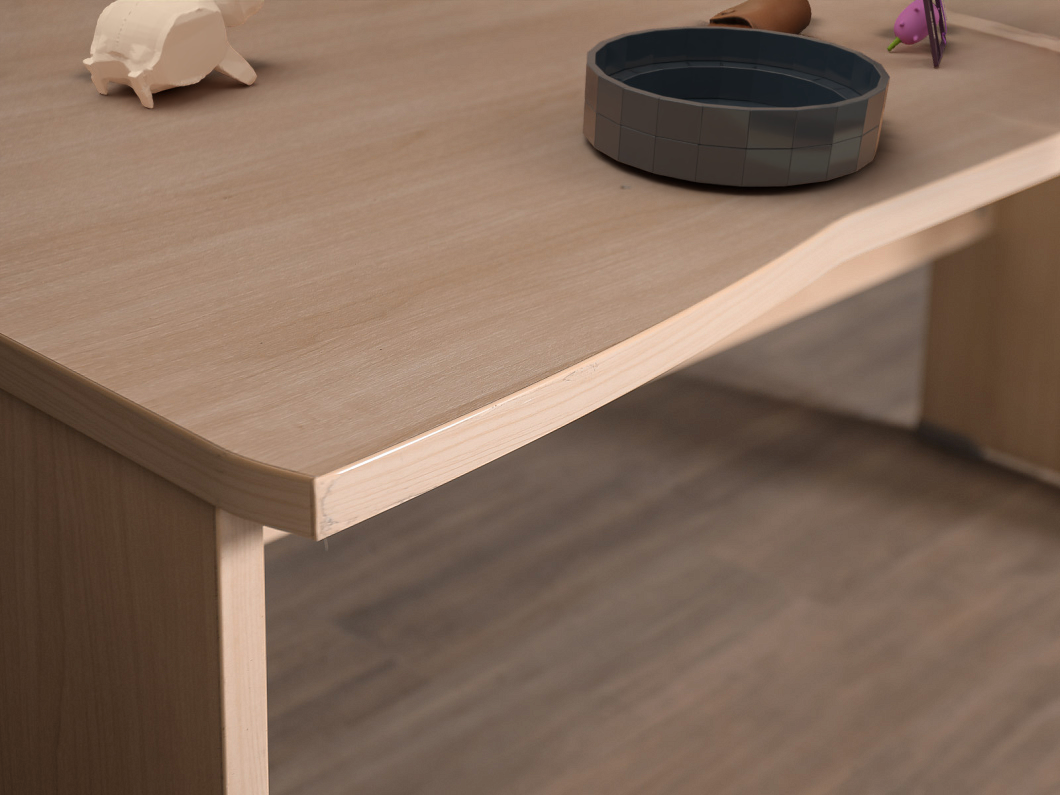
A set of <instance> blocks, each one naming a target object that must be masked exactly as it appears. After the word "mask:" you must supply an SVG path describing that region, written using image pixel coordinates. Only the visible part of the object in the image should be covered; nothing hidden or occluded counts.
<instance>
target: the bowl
mask: <svg viewBox="0 0 1060 795" xmlns="http://www.w3.org/2000/svg"><path fill="white" fill-rule="evenodd" d="M585 66H586V67H585V82H584V83H585V86H584V105H583V122H582V134H583V136H584V137H585V138H586V140H588V142H589V143H590V144H591V145H592V147H593V148H594V149H595V150H597V151H599V152H601V153H603V154H604V155H606V156H608V157H609V158H611V159H613V160H615V161H616V162H619V163H622V164H625V165H627V166H631V167H634V168H637V169H639V170H642V171H646V172H648V173H653V174H655V175H659V176H665V177H668V178H671V179H672V178H673V179H676V180H681V181H685V182H691V183H698V184H704V185H712V186H722V187H737V188H738V187H740V188H770V187H789V186H796V185H797V186H798V185H804V184H814V183H821V182H827V181H830V180H834V179H837V178H841V177H845V176H847V175H850V174H853V173H857V172H859V171H860V170H861V169H862V168H864V167H865V166H867V165H868V164H870V163H872V162H873V161H874V159H875V156H876V153H877V150H878V147H879V142H880V136H881V131H882V125H883V119H884V112H885V109H886V101H887V96H888V91H889V85H890V81H891V80H890V79H891V76H890V74H889V73H888V72H887V70H886V69H885V67H884V66H883V64H881V63H880V62H878V61H876V60H875V59H873V58H871V57H870V56H869V55H866V54H864V53H863V52H861V51H858V50H855V49H852V48H849V47H847V46H844V45H841V44H838V43H836V42H832V41H827V40H823V39H819V38H815V37H810V36H806V35H802V34H799V35H796V34H789V33H783V32H776V31H769V30H762V29H749V28H736V27H718V26H708V25H706V26H705V25H704V26H703V25H699V26H698V25H696V26H694V25H693V26H692V25H689V26H687V25H686V26H684V25H683V26H671V27H658V28H648V29H641V30H637V31H631V32H626V33H625V32H624V33H620V34H618V35H616V36H613V37H609V38H607V39H605V40H601V41H599V42H598V43H596V44H595V45H594V46H593V47H591V48H590V49H589V50H588V51H587V52H586V64H585Z"/></svg>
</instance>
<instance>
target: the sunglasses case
mask: <svg viewBox="0 0 1060 795" xmlns="http://www.w3.org/2000/svg"><path fill="white" fill-rule="evenodd" d="M812 15H813V14H812V7H811V4H810V2H809V0H746V1H743V2H741V3H739V4H737V5H735V6H731V7H729V8H726V9H723V10H722V11H720V12H718V13H717V14H715V15H714V16H712V17H711V18H709V23H708V25H707V26H718V27H736V28H749V29H762V30H769V31H776V32H783V33H789V34H796V35H801V33H802V32H803V31H804V30H806V29H807V28H808V27H809V26H810V24H811V20H812Z"/></svg>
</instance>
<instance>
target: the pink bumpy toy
mask: <svg viewBox="0 0 1060 795" xmlns="http://www.w3.org/2000/svg"><path fill="white" fill-rule="evenodd" d="M946 10H947V9H946V3H945V0H934V1H933V0H914V1H912V2H911V3H910V4H908V5H907V6H906V7H905V8H903V9H902V11H901V12H900V13H899V14H898V16H897V17H896V19H895V21H894V24H893V34H894V36H895V39H894V40H893V41H892V42H890V43H889V45H888V46H887V47H886V50H887V51H888V52H891V51H893V50H894V49H895V48H896V47H897V46H898V45H900V44H902V45H905V46H911V45H915V44H917V43H919V42H921V41H923V40H924V39H925V38H927V37H928V40H929V45H930V46H929V47H930V51H931V58H932V65H933V68H934V69H935V68H940V64H941V61H942V58H943V55H944V52H945V49H946V45H947V37H946V35H947V33H948V27H947V21H948V16H947V11H946ZM938 29H939V33H938ZM939 34H940V39H939Z"/></svg>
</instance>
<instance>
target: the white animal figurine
mask: <svg viewBox="0 0 1060 795" xmlns="http://www.w3.org/2000/svg"><path fill="white" fill-rule="evenodd" d="M264 3H265V0H115V1H114V2H113V1H112V2H111V3H110V4H108V5H107V6H106V7H104V9H102V12H101V13H100V14H99V17H98V18H97V23H96V25H95V28H94V34H93V39H92V42H91V45H90V52H89V55H90V57H87V58H85V59H83V60H82V65H84V67H85V68H86V70H88V72H89V73H90V74H91V76H90V79H91V81H92V83H93V84H94V86H95V88H96V90H97V93H99V94H100V93H101V94H100V95H108V84H109V83H110V82H111V83H114V84H117V85H118V84H119V85H124V86H125V85H126V86H128V87H130V88H132V89H133V91H134V93H135V94H136V95H137V97H138V98H139V100H140V102H141V105H142V106H143V107H145V108H148V109H153V108H154V100H153V94H156V93H159V92H163V91H167V90H170V89H174V88H178V87H185V86H190V85H194V84H197V83H199V82H201V80H203V79H205V78H206V76H207V75H210V73H211V72H212V71H215V72H218V73H220V74H223V75H225V76H227V77H229V78H231V79H233V80H236V81H237V82H241V83H243V84H245V85H247V86H251V85H253V83H255V82H256V79H257V77H258V75H257V73H256V72H255V69H254V68H253V66H252V65H250V64H249V62H248V61H247V60H246V59H245V58H244V57H243V56H242V55H241V54H240V53H239V52H237V51H236V50H235V49H234V48H233V46H231V44H230V43H229V41H228V38H227V37H228V36H227V30H226V29H227V28H233V27H235V26H236V27H237V26H241V25H243V24H245V23H246V21H247V20H248V19H249V18H250V17H251V16H254V15H256V14H257V13H259V11H260V10H261V8H262V7H263V5H264Z"/></svg>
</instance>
